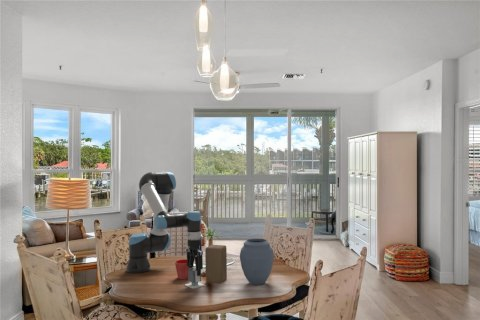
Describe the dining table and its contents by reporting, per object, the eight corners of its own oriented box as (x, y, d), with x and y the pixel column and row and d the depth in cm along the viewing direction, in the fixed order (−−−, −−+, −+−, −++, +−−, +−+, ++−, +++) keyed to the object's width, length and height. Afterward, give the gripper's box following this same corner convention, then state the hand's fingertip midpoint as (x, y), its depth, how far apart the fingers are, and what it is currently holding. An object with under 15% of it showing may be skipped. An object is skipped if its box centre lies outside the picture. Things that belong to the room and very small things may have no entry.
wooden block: (227, 279, 247) (227, 245, 247) (221, 283, 237) (220, 248, 238) (211, 277, 250) (211, 244, 250) (205, 282, 241) (204, 247, 241)
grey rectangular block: (188, 280, 235) (188, 269, 235) (196, 279, 238) (195, 267, 238) (193, 282, 230) (193, 270, 231) (201, 281, 234) (201, 269, 234)
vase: (250, 290, 224) (249, 244, 224) (234, 281, 241) (233, 239, 242) (281, 285, 233) (280, 241, 233) (263, 277, 250) (262, 236, 251)
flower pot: (190, 280, 246) (190, 263, 246) (172, 279, 248) (172, 262, 248) (195, 275, 256) (195, 259, 256) (178, 274, 258) (178, 259, 258)
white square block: (184, 285, 235) (184, 273, 235) (196, 282, 240) (196, 270, 240) (192, 288, 229) (192, 275, 229) (204, 285, 234) (204, 273, 234)
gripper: (179, 237, 239) (180, 278, 239) (197, 241, 225) (198, 285, 225) (191, 236, 244) (191, 276, 244) (209, 240, 230) (209, 282, 230)
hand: (194, 280), depth 234 cm, fingers closed on grey rectangular block, 5 cm apart
